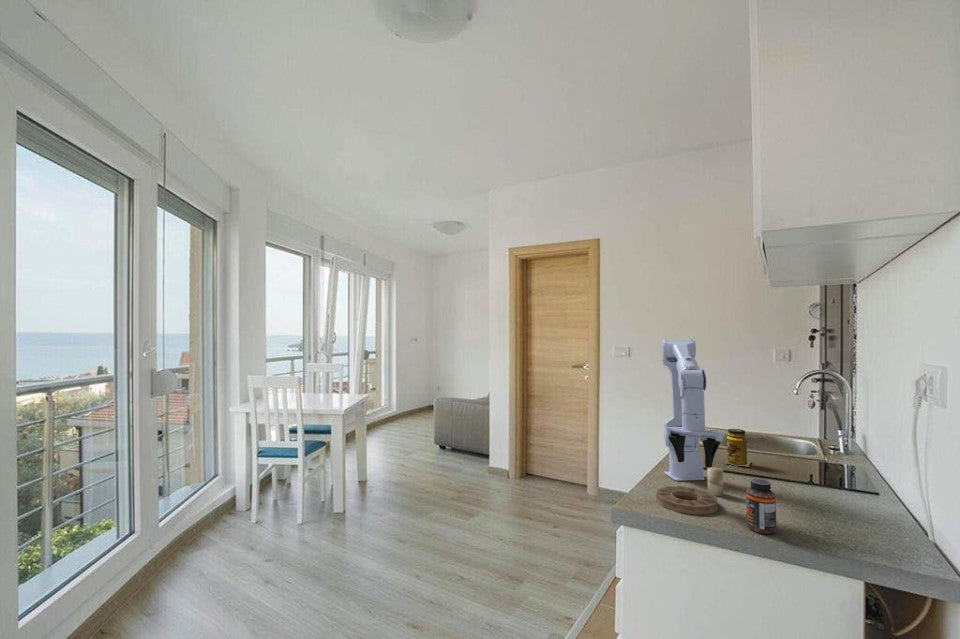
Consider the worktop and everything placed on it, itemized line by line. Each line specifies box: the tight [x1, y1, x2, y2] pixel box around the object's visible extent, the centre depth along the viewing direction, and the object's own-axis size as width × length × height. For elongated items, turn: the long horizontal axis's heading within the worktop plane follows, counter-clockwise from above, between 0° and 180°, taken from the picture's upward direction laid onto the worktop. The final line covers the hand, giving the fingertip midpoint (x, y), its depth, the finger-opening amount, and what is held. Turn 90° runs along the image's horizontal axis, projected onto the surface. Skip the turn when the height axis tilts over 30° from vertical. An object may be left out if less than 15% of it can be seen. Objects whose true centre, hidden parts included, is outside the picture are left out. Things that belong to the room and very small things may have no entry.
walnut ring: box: [655, 485, 719, 515], centre depth 122 cm, size 15×15×2 cm
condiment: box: [726, 428, 748, 465], centre depth 158 cm, size 7×8×12 cm
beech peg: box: [706, 466, 724, 497], centre depth 129 cm, size 4×4×7 cm
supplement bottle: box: [745, 478, 777, 535], centre depth 106 cm, size 6×6×11 cm
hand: (694, 464), depth 122 cm, fingers open, 7 cm apart
